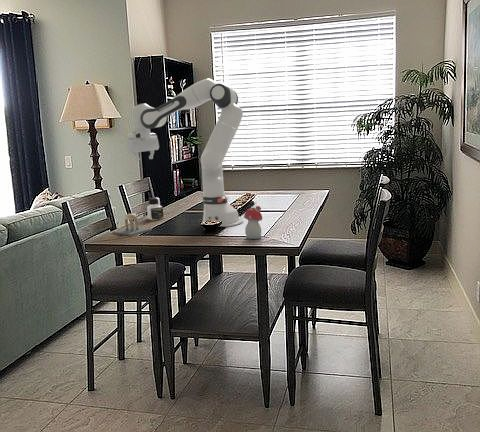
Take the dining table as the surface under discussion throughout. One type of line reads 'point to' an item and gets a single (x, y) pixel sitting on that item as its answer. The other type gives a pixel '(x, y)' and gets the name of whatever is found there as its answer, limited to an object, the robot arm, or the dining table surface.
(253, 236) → the decorative ornament
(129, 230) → the mat
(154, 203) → the medicine bottle
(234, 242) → the dining table surface
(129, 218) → the mini stool
